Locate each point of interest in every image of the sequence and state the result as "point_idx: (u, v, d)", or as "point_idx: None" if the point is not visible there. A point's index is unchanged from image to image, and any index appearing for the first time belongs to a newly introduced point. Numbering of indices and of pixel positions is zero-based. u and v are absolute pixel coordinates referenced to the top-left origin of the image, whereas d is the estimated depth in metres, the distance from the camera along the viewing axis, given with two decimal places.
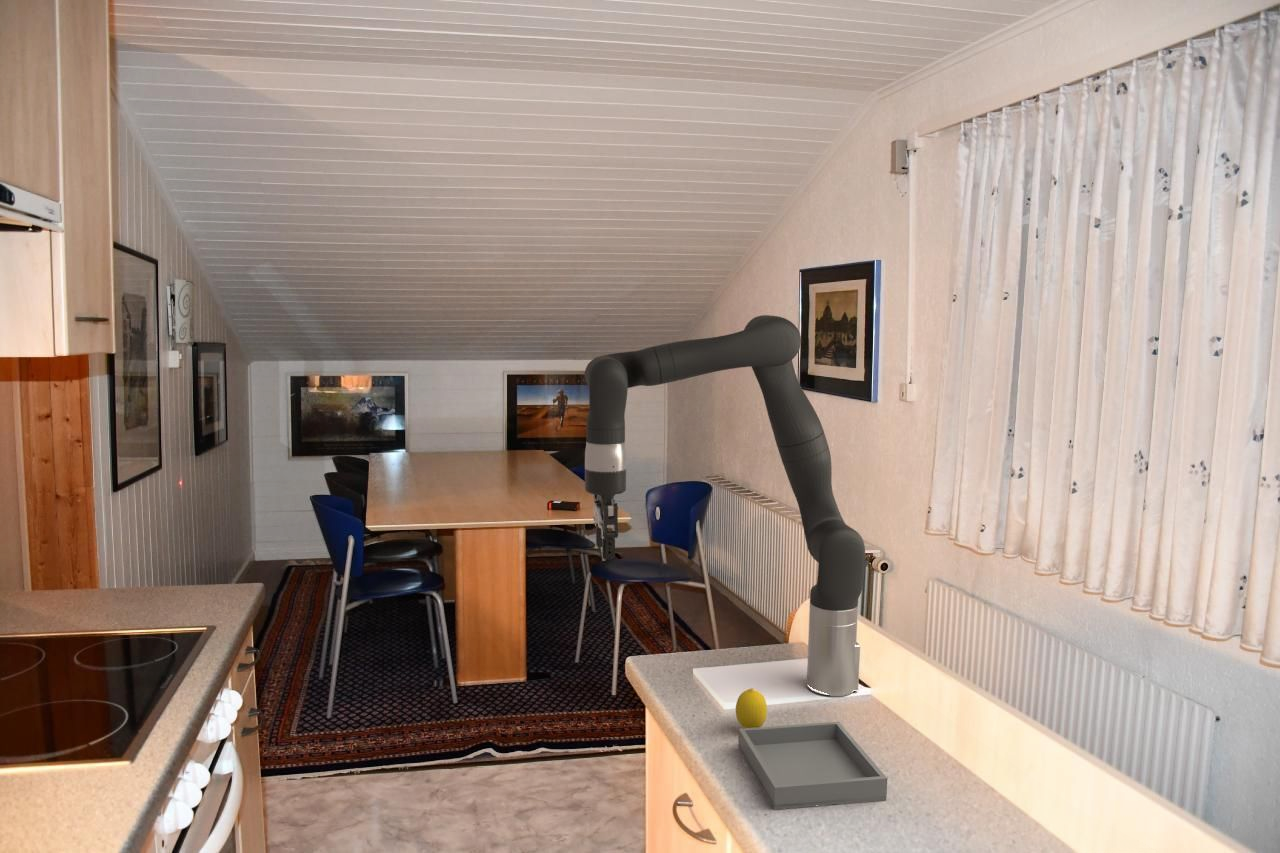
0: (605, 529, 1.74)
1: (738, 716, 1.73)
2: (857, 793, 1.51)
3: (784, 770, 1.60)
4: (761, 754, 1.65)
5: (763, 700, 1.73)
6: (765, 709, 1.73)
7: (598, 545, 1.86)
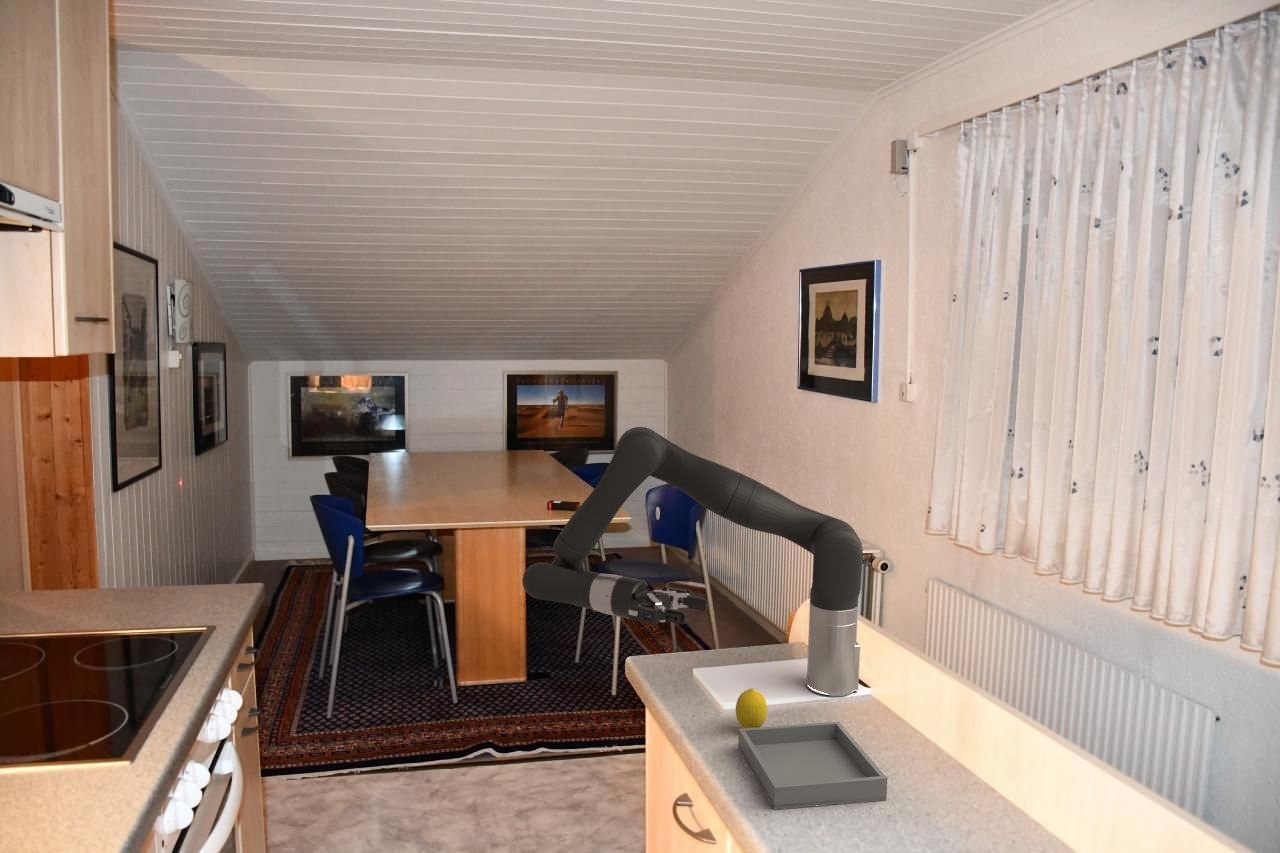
0: (647, 621, 1.75)
1: (738, 716, 1.73)
2: (857, 793, 1.51)
3: (784, 770, 1.60)
4: (761, 754, 1.65)
5: (763, 700, 1.73)
6: (765, 709, 1.73)
7: (704, 609, 1.81)
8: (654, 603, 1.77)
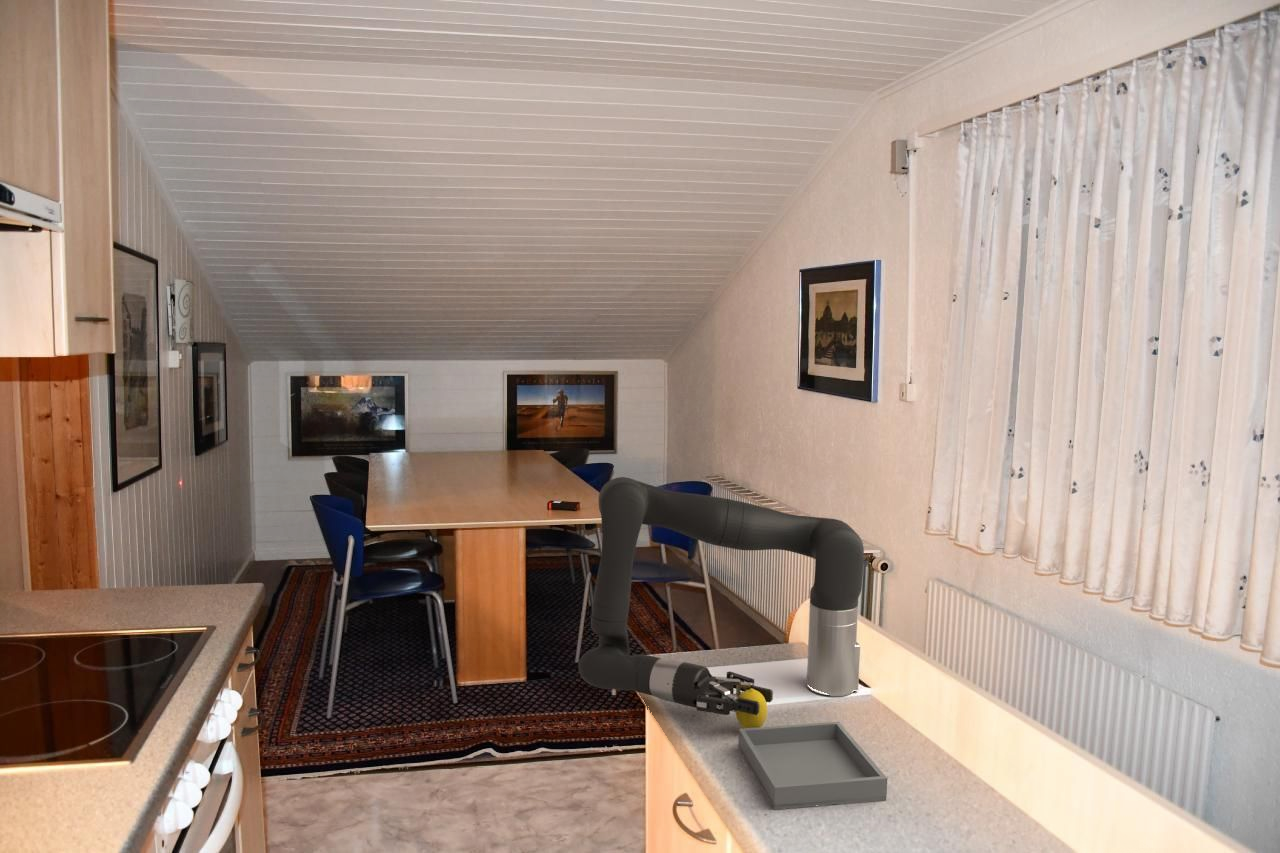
0: (719, 712, 1.71)
1: (738, 716, 1.73)
2: (857, 793, 1.51)
3: (784, 770, 1.60)
4: (761, 754, 1.65)
5: (763, 700, 1.73)
6: (765, 709, 1.73)
7: (769, 700, 1.76)
8: (723, 693, 1.73)
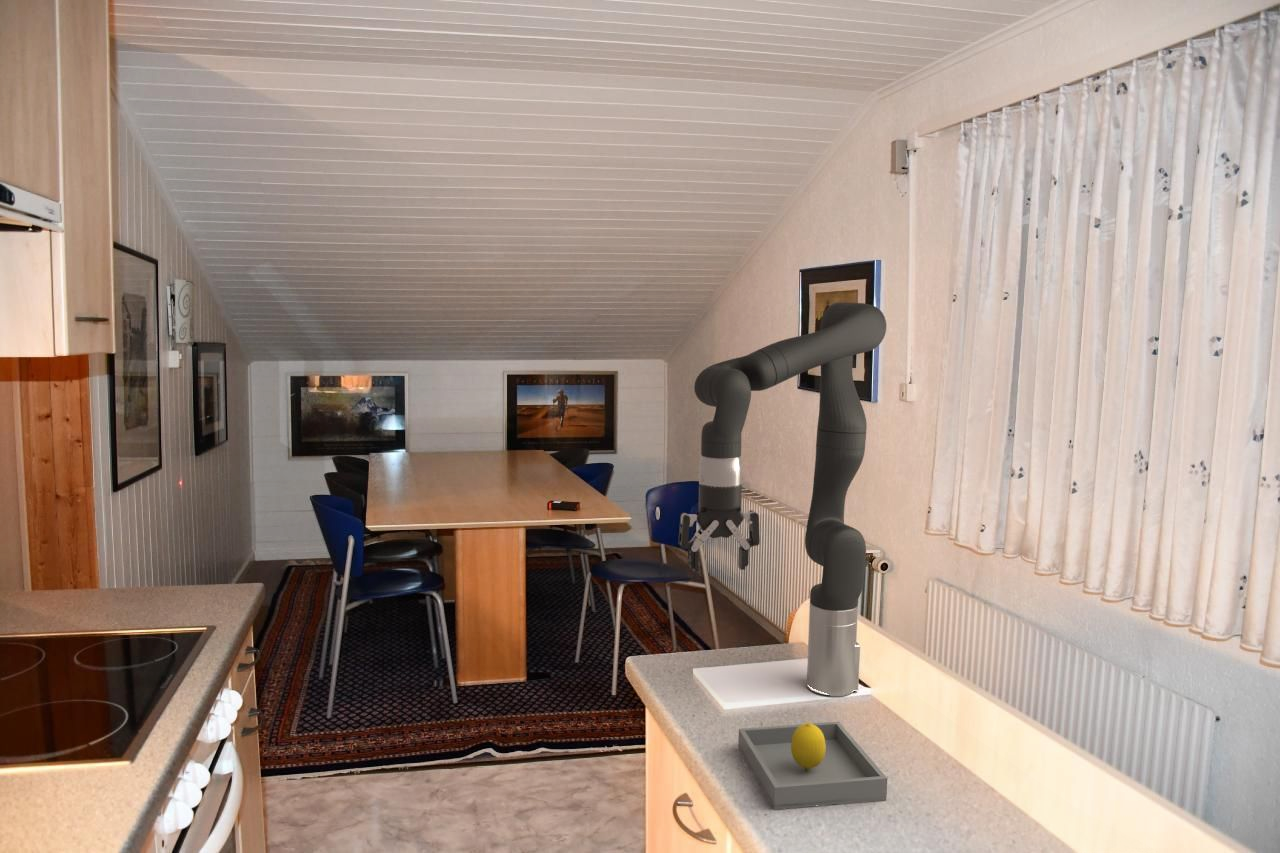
0: None
1: (795, 753, 1.58)
2: (857, 793, 1.51)
3: (784, 770, 1.60)
4: (761, 754, 1.65)
5: (822, 735, 1.58)
6: (824, 745, 1.58)
7: None
8: None
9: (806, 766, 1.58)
